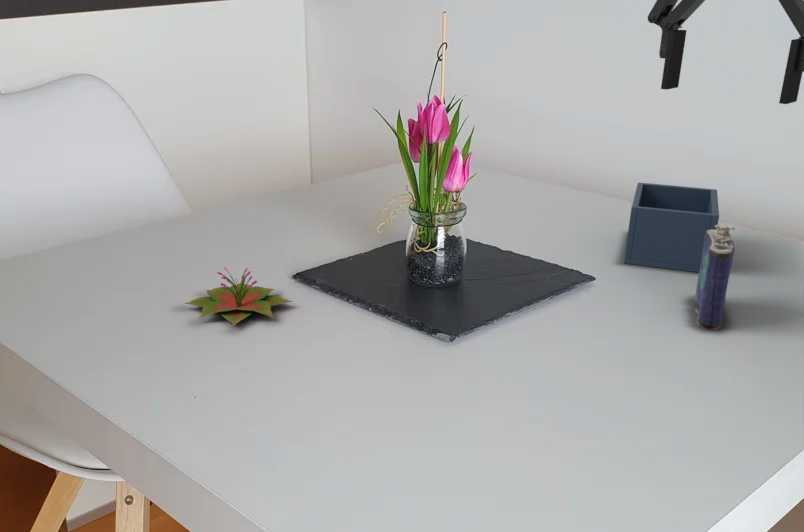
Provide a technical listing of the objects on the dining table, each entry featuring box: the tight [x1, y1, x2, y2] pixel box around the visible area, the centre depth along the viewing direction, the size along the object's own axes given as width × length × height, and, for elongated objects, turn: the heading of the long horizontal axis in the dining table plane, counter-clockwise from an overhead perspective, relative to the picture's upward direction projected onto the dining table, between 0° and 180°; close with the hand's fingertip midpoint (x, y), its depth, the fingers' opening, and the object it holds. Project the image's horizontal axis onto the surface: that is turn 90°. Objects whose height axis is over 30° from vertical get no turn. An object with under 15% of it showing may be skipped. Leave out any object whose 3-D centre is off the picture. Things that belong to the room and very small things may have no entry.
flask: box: [693, 224, 736, 331], centre depth 94 cm, size 9×3×11 cm, turn 162°
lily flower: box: [183, 267, 294, 326], centre depth 96 cm, size 12×12×5 cm
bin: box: [623, 182, 720, 273], centre depth 114 cm, size 11×14×8 cm
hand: (725, 95), depth 94 cm, fingers open, 13 cm apart
